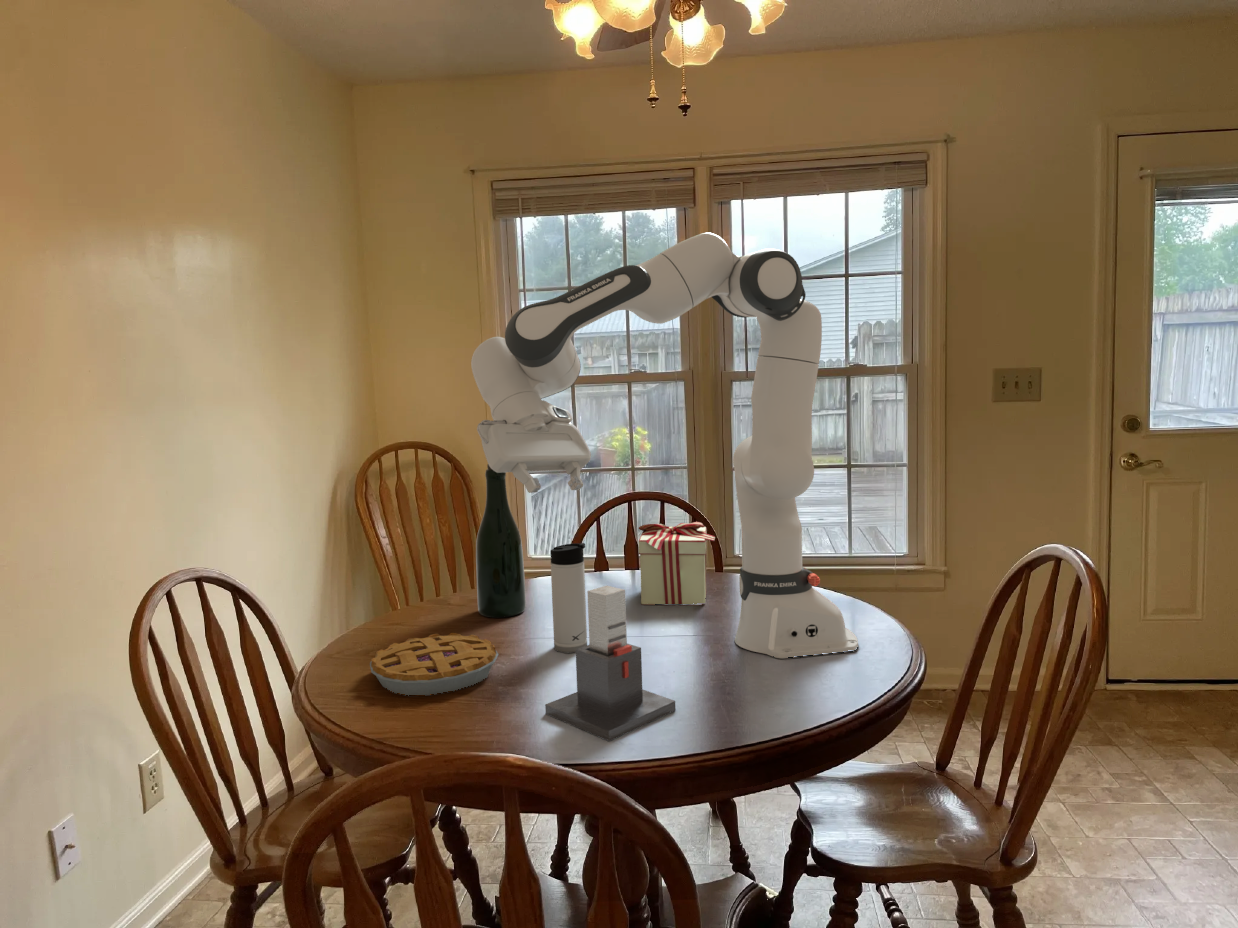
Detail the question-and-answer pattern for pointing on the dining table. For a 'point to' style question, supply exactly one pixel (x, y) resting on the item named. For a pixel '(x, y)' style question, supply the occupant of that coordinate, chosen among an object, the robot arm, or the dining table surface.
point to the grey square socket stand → (609, 695)
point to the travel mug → (568, 597)
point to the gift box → (673, 563)
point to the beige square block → (607, 619)
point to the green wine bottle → (499, 554)
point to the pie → (434, 664)
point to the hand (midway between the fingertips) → (557, 489)
